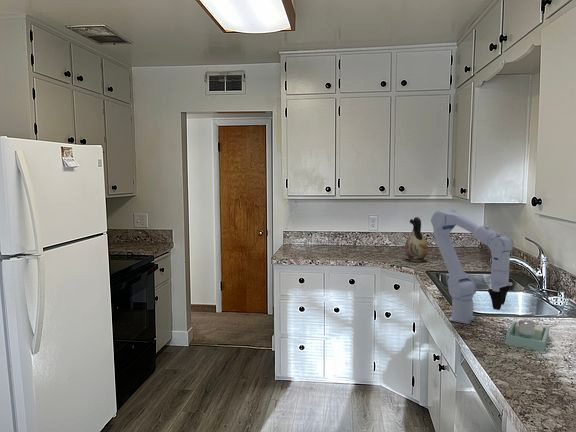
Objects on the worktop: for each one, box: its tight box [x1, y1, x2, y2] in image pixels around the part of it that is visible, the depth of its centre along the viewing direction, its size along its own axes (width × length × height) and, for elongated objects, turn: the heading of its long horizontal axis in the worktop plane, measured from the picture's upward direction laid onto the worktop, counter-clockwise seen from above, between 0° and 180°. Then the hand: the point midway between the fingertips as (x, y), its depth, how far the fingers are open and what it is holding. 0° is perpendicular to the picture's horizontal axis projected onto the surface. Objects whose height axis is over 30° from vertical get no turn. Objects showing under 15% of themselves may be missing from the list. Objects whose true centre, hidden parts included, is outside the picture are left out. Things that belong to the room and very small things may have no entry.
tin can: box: [518, 319, 536, 339], centre depth 139 cm, size 5×5×7 cm
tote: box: [504, 320, 550, 352], centre depth 142 cm, size 16×11×4 cm
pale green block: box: [515, 321, 545, 341], centre depth 145 cm, size 5×8×4 cm, turn 54°
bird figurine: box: [404, 216, 429, 263], centre depth 281 cm, size 17×15×30 cm
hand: (498, 306), depth 151 cm, fingers open, 7 cm apart
